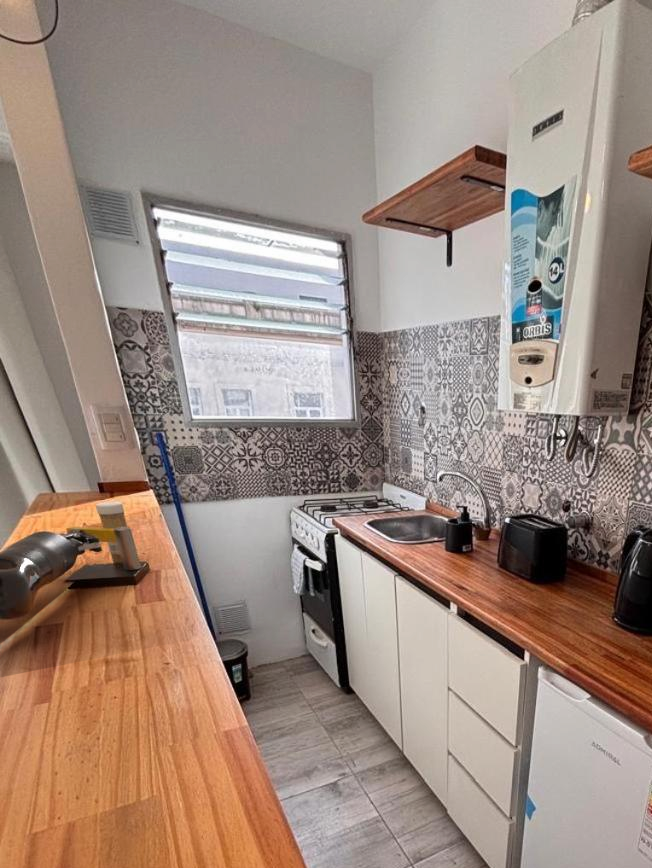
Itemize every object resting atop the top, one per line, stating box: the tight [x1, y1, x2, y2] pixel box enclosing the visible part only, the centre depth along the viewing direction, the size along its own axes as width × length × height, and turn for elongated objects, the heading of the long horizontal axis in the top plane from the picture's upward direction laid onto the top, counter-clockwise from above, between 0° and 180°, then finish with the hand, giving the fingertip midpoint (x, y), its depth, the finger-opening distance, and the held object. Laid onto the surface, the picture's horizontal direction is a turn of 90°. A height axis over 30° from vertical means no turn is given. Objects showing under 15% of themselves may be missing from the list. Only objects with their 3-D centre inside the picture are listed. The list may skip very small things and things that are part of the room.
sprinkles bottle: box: [95, 501, 128, 563], centre depth 108 cm, size 5×5×13 cm
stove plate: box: [64, 560, 151, 590], centre depth 103 cm, size 12×10×2 cm
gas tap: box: [65, 525, 141, 570], centre depth 102 cm, size 12×3×8 cm, turn 85°
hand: (79, 534), depth 101 cm, fingers closed
